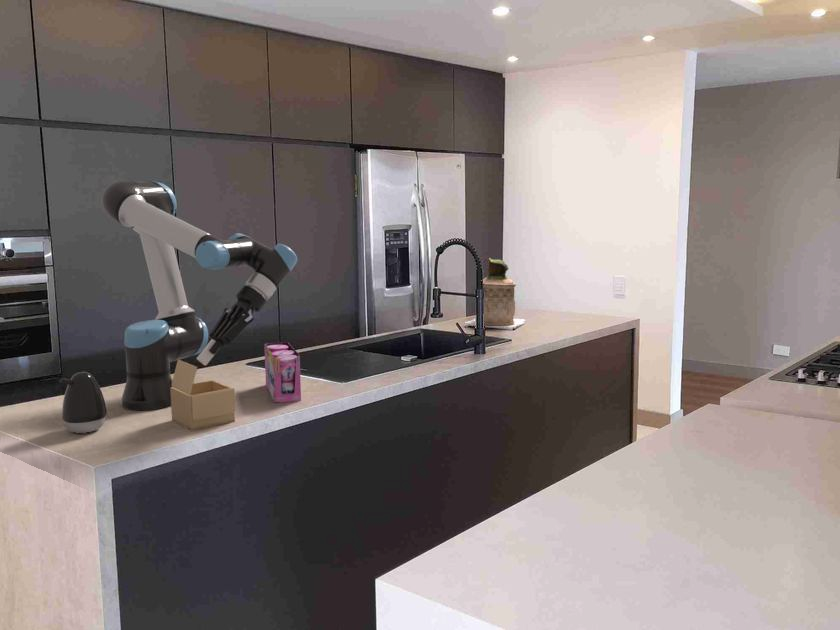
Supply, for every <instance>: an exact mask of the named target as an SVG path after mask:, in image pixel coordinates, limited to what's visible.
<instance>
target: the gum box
mask: <svg viewBox="0 0 840 630" xmlns="http://www.w3.org/2000/svg"><path fill="white" fill-rule="evenodd" d="M300 358H301V357H300V353H299V352H298V351H296V350H295V348H294V347H293V346H292V345H291V344H290V343H289V341H286V342H284V341H282V342H271V343H270V342H268V343H264V368H265V386H266V388H267V389H268V393H269V394H270V396H271V398H272V400H273V401H274V403H275V402H279V403H289V402H290V403H291V401H292V402H301V401H302V388H301V387H302V386H301V385H302V384H301V382H302V381H301V361H300Z"/></svg>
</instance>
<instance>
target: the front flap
mask: <svg viewBox="0 0 840 630" xmlns="http://www.w3.org/2000/svg"><path fill="white" fill-rule="evenodd" d="M176 361H177V362H176V366H175V369H174V374H173V376H172V377H173V378H172V385H171V386H173V387H176V388H178V389H180V390H182V391H184V392H186V393H189V394H191V390H192V386H193V383H195V382H194V381H195V378H196V374H197V370H198V366H196V365H194V364H191V363H188V362H186V361H183V360H182V359H180V360H176Z"/></svg>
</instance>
